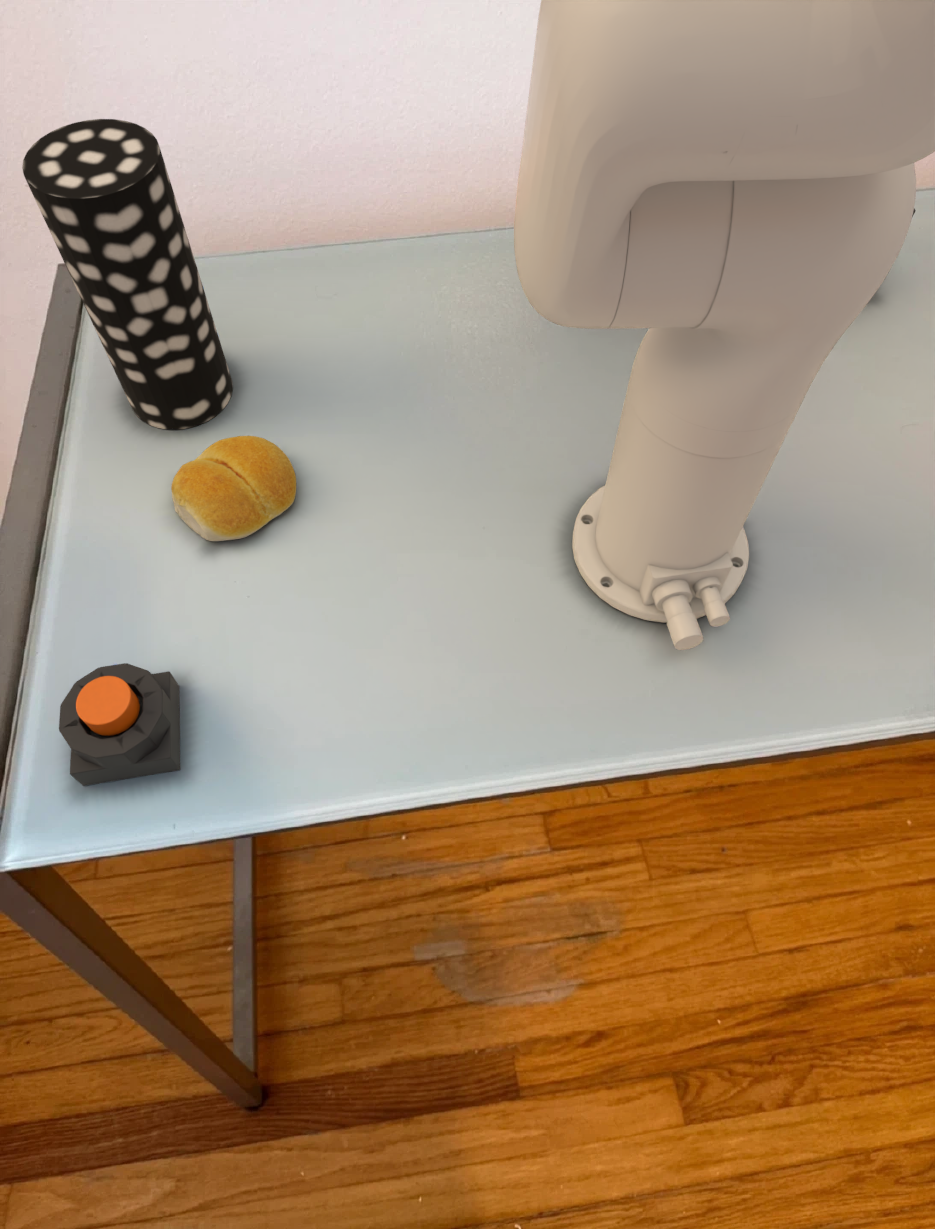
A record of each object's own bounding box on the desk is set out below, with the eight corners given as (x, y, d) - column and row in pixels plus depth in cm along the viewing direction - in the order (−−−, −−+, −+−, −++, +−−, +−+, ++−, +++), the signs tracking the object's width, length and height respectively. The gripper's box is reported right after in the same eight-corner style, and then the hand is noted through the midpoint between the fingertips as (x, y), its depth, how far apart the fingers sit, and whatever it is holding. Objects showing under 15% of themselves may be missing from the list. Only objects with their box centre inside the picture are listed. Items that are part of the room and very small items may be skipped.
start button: (139, 731, 52) (130, 719, 50) (85, 740, 51) (74, 728, 50) (140, 684, 53) (131, 671, 52) (87, 692, 53) (76, 679, 52)
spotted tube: (249, 368, 72) (183, 132, 55) (204, 440, 68) (117, 210, 51) (160, 346, 73) (67, 109, 56) (111, 416, 69) (-5, 183, 52)
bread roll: (319, 492, 66) (311, 457, 62) (226, 563, 62) (212, 530, 59) (249, 435, 68) (238, 399, 65) (157, 500, 65) (140, 465, 62)
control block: (181, 770, 54) (162, 747, 51) (82, 787, 54) (56, 764, 50) (180, 684, 57) (162, 657, 54) (86, 699, 57) (61, 672, 53)
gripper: (570, 46, 55) (546, 287, 71) (791, 25, 56) (719, 265, 72) (543, -11, 59) (525, 229, 74) (751, -30, 60) (691, 210, 76)
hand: (621, 246), depth 73 cm, fingers closed
